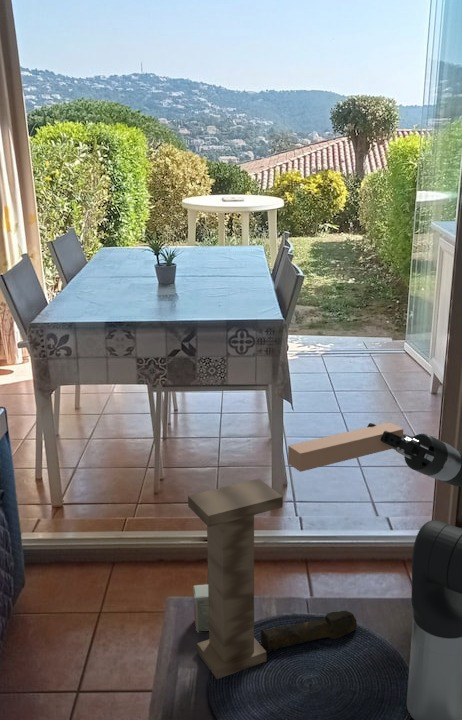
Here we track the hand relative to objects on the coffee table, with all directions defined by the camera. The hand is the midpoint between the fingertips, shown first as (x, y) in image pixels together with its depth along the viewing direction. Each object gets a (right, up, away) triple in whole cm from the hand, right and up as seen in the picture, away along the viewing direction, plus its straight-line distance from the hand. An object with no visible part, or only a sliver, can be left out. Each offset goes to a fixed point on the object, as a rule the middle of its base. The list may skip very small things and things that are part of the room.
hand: (376, 432), depth 137 cm
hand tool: (-13, -39, +1) cm, 41 cm away
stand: (-27, -40, -4) cm, 49 cm away
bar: (-6, -4, -2) cm, 7 cm away
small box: (-32, -38, +5) cm, 50 cm away
